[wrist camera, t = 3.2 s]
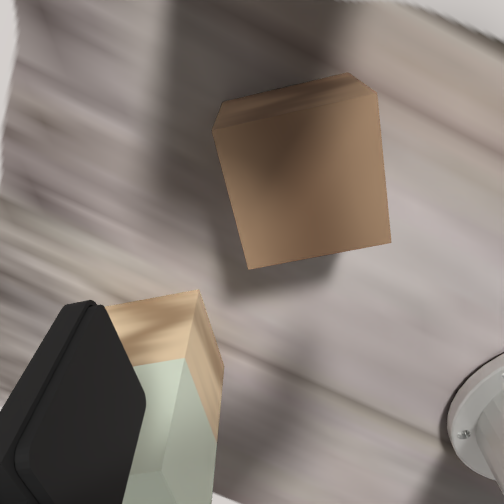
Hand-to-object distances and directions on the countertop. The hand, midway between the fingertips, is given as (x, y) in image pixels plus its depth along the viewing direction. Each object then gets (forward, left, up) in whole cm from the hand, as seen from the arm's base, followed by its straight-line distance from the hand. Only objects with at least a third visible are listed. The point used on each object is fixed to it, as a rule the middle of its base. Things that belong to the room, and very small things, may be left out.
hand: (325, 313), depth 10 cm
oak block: (+10, +11, -15) cm, 21 cm away
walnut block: (0, +1, -15) cm, 15 cm away
